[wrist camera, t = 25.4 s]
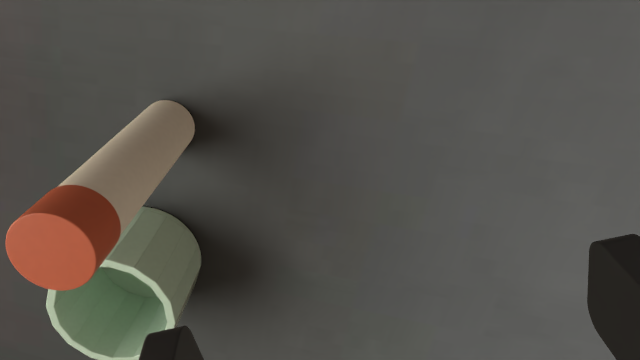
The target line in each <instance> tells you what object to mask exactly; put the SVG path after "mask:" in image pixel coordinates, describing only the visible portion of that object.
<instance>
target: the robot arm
mask: <svg viewBox="0 0 640 360" xmlns="http://www.w3.org/2000/svg"><path fill="white" fill-rule="evenodd" d="M587 303H588V310H589V314H590V317H591V320H592V322H593V325H594V327H595V329H596V331H597V332H598V334H599V335H600V337H601V338H602V340H603V341H604V343H605V344H606V345H607V347H608V348H609V350H610V351H611V352H612V354H613V355H614V357H615V358H616V359H617V360H640V236H638V235H636V234H629V235H625V236H620V237H615V238H610V239H605V240H601V241H596V242H593V243H592V244H591V246H590V250H589V272H588V298H587ZM139 360H204V359H203V357H202V355H201V353H200V350H199V348H198V346H197V344H196V341H195V339H194V337H193V335H192V333H191V331H190V329H189V328H188V327H187V326H182V327H177V328H172V329H167V330H163V331H158V332H153V333H149V334H148V335H147V336H146V338H145V340H144V343H143V347H142V350H141V353H140V357H139Z"/></svg>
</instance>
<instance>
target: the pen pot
mask: <svg viewBox="0 0 640 360" xmlns="http://www.w3.org/2000/svg"><path fill="white" fill-rule="evenodd" d="M200 268H201V252H200V248H199V245H198V243H197V241H196V239H195V237H194V235H193V234H192V233H191V231H190V230H189V229H188V228H187V227H186V226H185V225H184V224H183V223H182V222H181V221H179V220H178V219H177V218H175V217H174V216H172V215H170V214H168V213H166V212H164V211H161V210H158V209H154V208H149V207H141V208H140V210H139V211H138V212H137V214H136V215H135V216H134V218H133V219H132V221H131V222H130V223H129V225H128V226H127V227H126V229H125V230H124V231H123V233H122V234H121V235H120V237H119V240H118V242H117V244H116V245H115V247H114V248H113V249H112V251H111V252H110V253H109V255H108V256H107V257H106V259H105V260H104V261H103V263H102V264H101V265H100V267H99V268H98V269H97V271H96V272H95V274H94V275H93V276H92V278H91V279H90V280H89V281H88V282H87V283H85V284H84V285H82V286H80V287H78V288H75V289H72V290H64V291H59V290H51V289H48V295H47V302H46V308H47V311H48V314H49V317H50V319H51V322H52V325H53V327H54V328H55V329H56V330H57V331H58V333H59V334H60V335H61V336H62V337H63V338H64V340H65V341H66V342H67V343H69V345H71V346H72V347H74V348H76V349H77V350H79V351H81V352H82V353H84V354H85V355H87V356H89V357H91V358H95V359H98V360H139V357H140V353H141V350H142V347H143V343H144V340H145V338H146V336H147V335H148V334H149V333H153V332H158V331H163V330H167V329H172V328H176V327H177V325H178V323H179V320H180V318H181V316H182V313H183V311H184V309H185V306H186V304H187V302H188V300H189V297H190V295H191V293H192V290H193V288H194V286H195V283H196V281H197V277H198V274H199V272H200Z"/></svg>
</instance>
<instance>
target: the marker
mask: <svg viewBox="0 0 640 360" xmlns="http://www.w3.org/2000/svg"><path fill="white" fill-rule="evenodd" d="M194 132H195V124H194V121H193V118H192V116H191V114H190V113H189V112H188V110H187V109H186V108H185V107H183V106H182V105H180V104H179V103H176V102H174V101H169V100H161V101H157V102H155V103H153V104H151V105H150V106H149V107H148V108H146V109H145V110H144V111H143V112H142V113H141V114H140V115H139V116H137V117H136V118H135V119H134V120H133V121H132V122H131V123H129V124H128V125H127V126H126V127H125V128H124V129H123V130H122V131H120V132H119V133H118V134H117V135H116V136H115V137H114V138H112V139H111V140H110V141H109V142H108V143H107V144H106V145H104V146H103V147H102V148H101V149H100V150H99V151H98V152H97V153H95V154H94V155H93V156H92V157H91V158H90V159H89V160H87V161H86V162H85V163H84V164H83V165H82V166H81V167H79V168H78V169H77V170H76V171H75V172H74V173H73V174H72V175H70V176H69V177H68V178H67V179H66V180H65V181H64V182H62V183H61V184H60V185H59V186H58V187H56V188H54V189H52V190H51V191H49V192H48V193H47V194H46V195H44V196H43V197H42V198H41V199H40V200H39V201H38V202H36V203H35V204H34V205H33V206H32V207H31V208H30V209H28V210H27V211H26V212H25V213H24V214H23V215H21V216H20V217H19V218H18V219H17V220H16V221H15V222H14V223H13V224H12V225H11V226H10V228H9V230H8V232H7V236H6V250H7V254H8V256H9V259H10V261H11V262H12V264H13V265H14V267H15V268H16V269H17V270H18V272H19V273H20V274H22V275H23V276H24V277H25V278H26V279H28V280H29V281H31V282H33V283H34V284H36V285H39V286H41V287H44V288H47V289H51V290H59V291H64V290H72V289H75V288H78V287H80V286H82V285H84V284H85V283H87V282H88V281H89V280H90V279H91V278H92V276H93V275H94V274H95V272H96V271H97V269H98V268H99V267H100V265H101V264H102V263H103V261H104V260H105V259H106V257H107V256H108V255H109V253H110V252H111V251H112V249H113V248H114V247H115V245H116V244H117V242H118V240H119V237H120V235H121V234H122V233H123V231H124V230H125V229H126V227H127V226H128V225H129V223H130V222H131V221H132V219H133V218H134V216H135V215H136V214H137V212H138V211H139V210H140V208H141V207H142V206H143V204H144V203H145V202H146V200H147V199H148V198H149V196H150V195H151V194H152V192H153V191H154V190H155V188H156V187H157V186H158V184H159V183H160V182H161V180H162V179H163V178H164V176H165V175H166V174H167V172H168V171H169V170H170V168H171V167H172V166H173V164H174V163H175V162H176V160H177V159H178V158H179V156H180V155H181V154H182V152H183V151H184V150H185V148H186V147H187V146H188V144H189V143H190V142H191V140H192V138H193V136H194Z"/></svg>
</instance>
